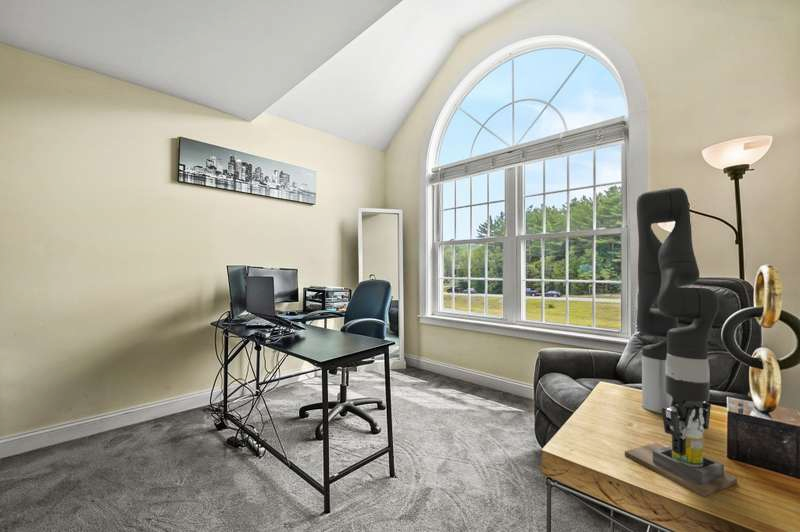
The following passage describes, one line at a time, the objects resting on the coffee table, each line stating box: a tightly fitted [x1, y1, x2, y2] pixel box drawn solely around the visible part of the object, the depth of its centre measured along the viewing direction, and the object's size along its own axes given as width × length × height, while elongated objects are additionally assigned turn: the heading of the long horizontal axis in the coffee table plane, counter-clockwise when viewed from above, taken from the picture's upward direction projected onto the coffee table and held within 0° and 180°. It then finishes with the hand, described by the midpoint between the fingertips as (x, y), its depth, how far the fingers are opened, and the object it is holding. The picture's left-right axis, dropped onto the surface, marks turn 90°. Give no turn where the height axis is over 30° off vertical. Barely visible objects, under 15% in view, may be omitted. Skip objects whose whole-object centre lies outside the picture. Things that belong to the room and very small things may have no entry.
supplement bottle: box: [672, 420, 704, 468], centre depth 75 cm, size 5×5×10 cm
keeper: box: [624, 442, 738, 498], centre depth 76 cm, size 12×16×4 cm
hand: (686, 450), depth 75 cm, fingers closed on supplement bottle, 5 cm apart
